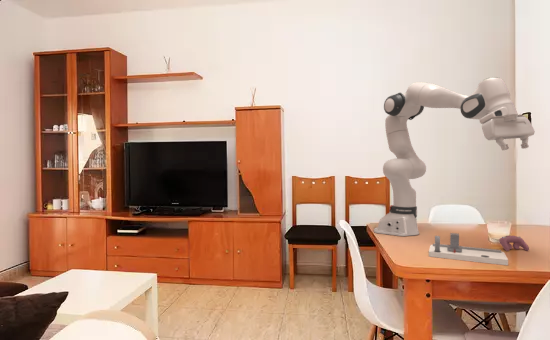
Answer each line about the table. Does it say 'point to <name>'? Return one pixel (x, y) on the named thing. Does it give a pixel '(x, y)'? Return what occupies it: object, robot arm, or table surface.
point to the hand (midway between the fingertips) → (515, 148)
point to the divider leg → (454, 243)
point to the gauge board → (468, 254)
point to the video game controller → (516, 243)
